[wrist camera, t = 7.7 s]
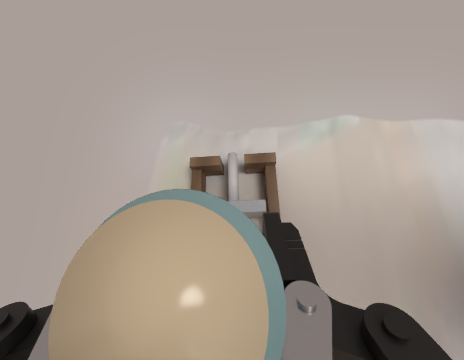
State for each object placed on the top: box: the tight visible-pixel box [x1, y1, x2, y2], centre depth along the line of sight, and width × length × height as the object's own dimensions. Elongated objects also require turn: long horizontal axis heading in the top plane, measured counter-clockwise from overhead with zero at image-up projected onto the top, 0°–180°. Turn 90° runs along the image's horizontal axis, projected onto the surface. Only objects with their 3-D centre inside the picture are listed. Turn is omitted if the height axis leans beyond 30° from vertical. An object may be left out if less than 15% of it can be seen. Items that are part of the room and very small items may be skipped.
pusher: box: [227, 153, 266, 218], centre depth 24 cm, size 7×8×5 cm
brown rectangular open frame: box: [190, 152, 280, 216], centre depth 23 cm, size 10×16×4 cm, turn 1°
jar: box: [48, 189, 286, 360], centre depth 9 cm, size 5×5×10 cm
